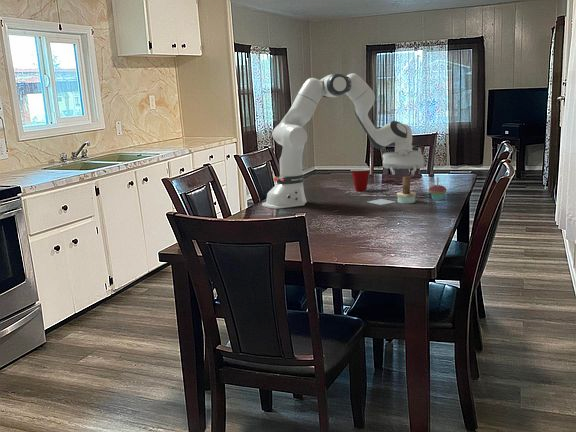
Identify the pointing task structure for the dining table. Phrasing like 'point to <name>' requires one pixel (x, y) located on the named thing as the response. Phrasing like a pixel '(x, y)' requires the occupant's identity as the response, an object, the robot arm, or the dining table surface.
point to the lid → (406, 188)
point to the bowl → (406, 199)
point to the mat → (381, 201)
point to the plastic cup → (360, 178)
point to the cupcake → (437, 191)
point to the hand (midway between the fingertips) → (403, 174)
